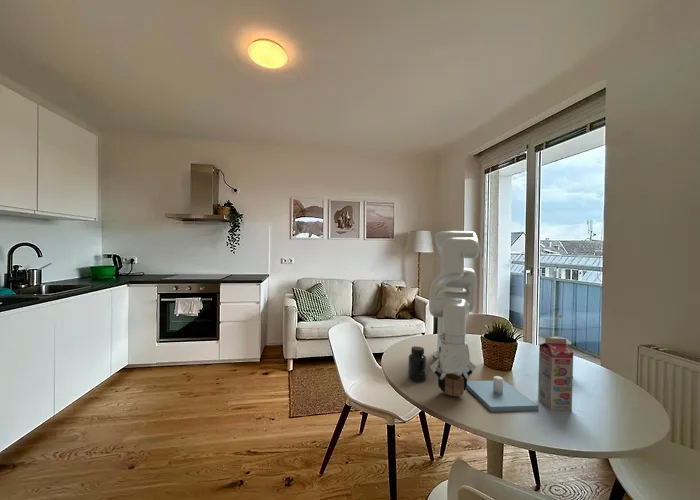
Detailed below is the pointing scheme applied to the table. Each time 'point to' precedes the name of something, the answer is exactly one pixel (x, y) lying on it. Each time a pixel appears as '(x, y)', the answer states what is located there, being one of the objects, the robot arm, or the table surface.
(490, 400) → the post board
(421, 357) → the supplement bottle
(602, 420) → the table surface
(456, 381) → the walnut ring
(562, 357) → the juice carton
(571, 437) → the table surface
